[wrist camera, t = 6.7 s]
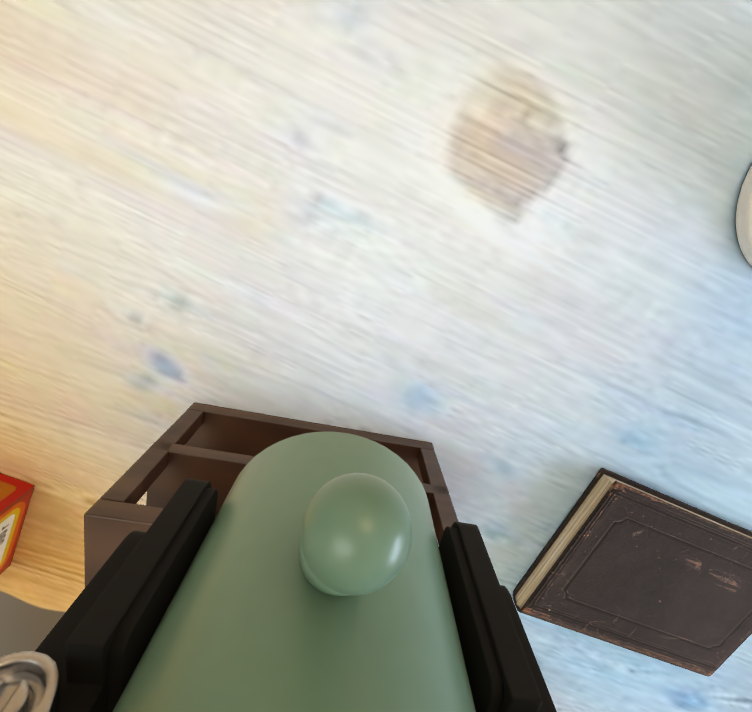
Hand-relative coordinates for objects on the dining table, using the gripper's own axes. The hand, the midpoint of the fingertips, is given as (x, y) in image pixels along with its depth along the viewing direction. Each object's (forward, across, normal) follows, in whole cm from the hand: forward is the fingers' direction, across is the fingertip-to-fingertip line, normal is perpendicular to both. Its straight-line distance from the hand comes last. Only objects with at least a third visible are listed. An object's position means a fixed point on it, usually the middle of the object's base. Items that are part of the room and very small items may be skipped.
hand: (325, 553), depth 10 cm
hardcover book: (+22, -33, +18) cm, 44 cm away
